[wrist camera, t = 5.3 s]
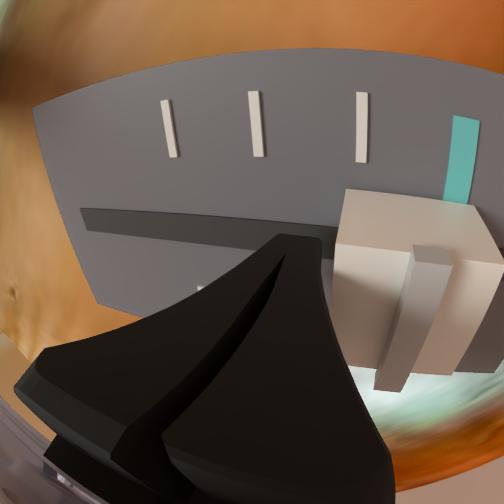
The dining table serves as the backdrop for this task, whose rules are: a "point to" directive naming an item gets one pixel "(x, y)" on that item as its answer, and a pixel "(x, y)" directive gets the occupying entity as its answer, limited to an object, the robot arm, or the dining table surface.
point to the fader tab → (410, 283)
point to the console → (264, 163)
